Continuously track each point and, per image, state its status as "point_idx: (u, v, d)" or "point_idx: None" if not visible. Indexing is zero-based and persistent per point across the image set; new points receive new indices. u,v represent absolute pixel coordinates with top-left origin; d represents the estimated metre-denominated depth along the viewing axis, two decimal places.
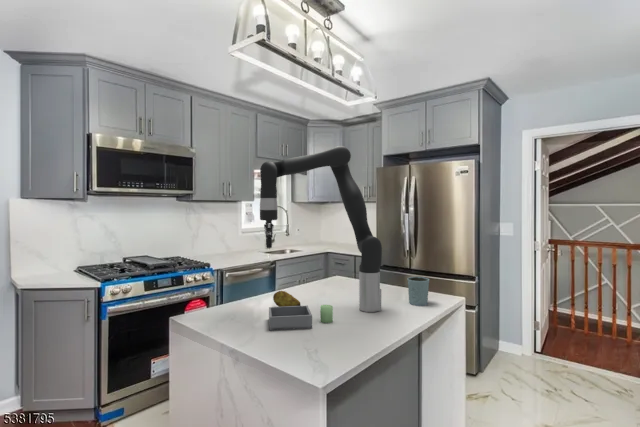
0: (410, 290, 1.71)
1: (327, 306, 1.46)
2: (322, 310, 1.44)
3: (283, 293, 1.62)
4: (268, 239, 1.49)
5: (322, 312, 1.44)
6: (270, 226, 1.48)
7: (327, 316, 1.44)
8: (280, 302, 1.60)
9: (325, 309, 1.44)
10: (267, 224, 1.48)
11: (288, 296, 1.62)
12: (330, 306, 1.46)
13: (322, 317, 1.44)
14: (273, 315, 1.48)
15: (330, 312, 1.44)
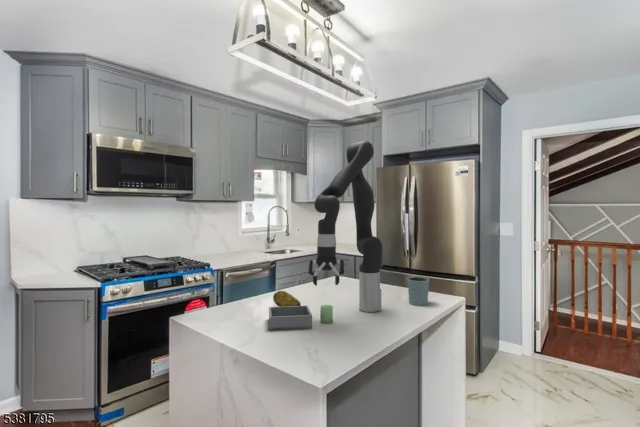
0: (410, 290, 1.71)
1: (327, 306, 1.46)
2: (322, 310, 1.44)
3: (283, 293, 1.62)
4: None
5: (322, 312, 1.44)
6: None
7: (327, 316, 1.44)
8: (280, 302, 1.60)
9: (325, 309, 1.44)
10: None
11: (288, 296, 1.62)
12: (330, 306, 1.46)
13: (322, 317, 1.44)
14: (273, 315, 1.48)
15: (330, 312, 1.44)
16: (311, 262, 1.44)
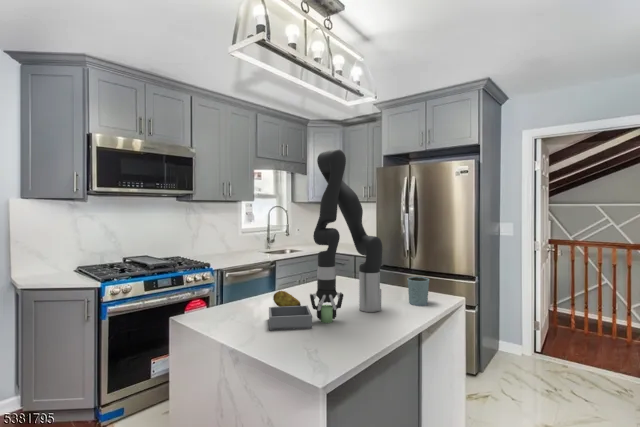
0: (410, 290, 1.71)
1: (327, 306, 1.46)
2: (322, 310, 1.44)
3: (283, 293, 1.62)
4: None
5: (322, 312, 1.44)
6: None
7: (328, 316, 1.44)
8: (280, 302, 1.60)
9: (325, 309, 1.44)
10: None
11: (288, 296, 1.62)
12: (330, 306, 1.46)
13: (322, 317, 1.44)
14: (273, 315, 1.48)
15: (330, 312, 1.44)
16: (312, 297, 1.44)
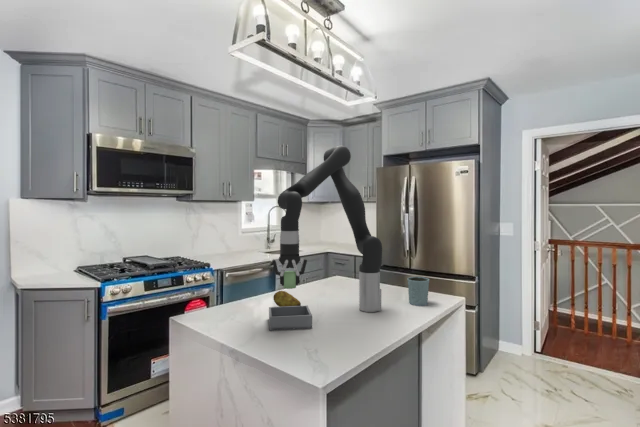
0: (410, 290, 1.71)
1: (290, 272, 1.42)
2: (285, 275, 1.41)
3: (283, 293, 1.62)
4: None
5: (285, 278, 1.41)
6: None
7: (290, 281, 1.40)
8: (280, 302, 1.60)
9: (288, 275, 1.40)
10: (306, 260, 1.43)
11: (288, 296, 1.62)
12: (293, 272, 1.42)
13: (285, 283, 1.41)
14: (273, 315, 1.48)
15: (293, 278, 1.41)
16: (274, 262, 1.40)
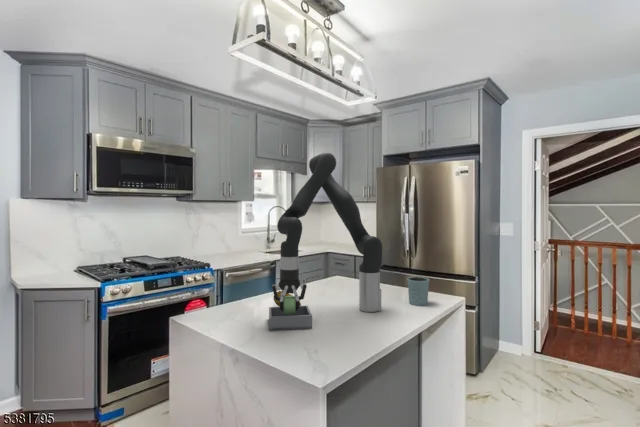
0: (410, 290, 1.71)
1: (290, 297, 1.43)
2: (284, 301, 1.41)
3: None
4: None
5: (284, 303, 1.41)
6: None
7: (290, 307, 1.40)
8: None
9: (288, 300, 1.40)
10: None
11: None
12: (293, 297, 1.43)
13: (284, 308, 1.41)
14: (273, 315, 1.48)
15: (292, 303, 1.41)
16: (274, 288, 1.40)
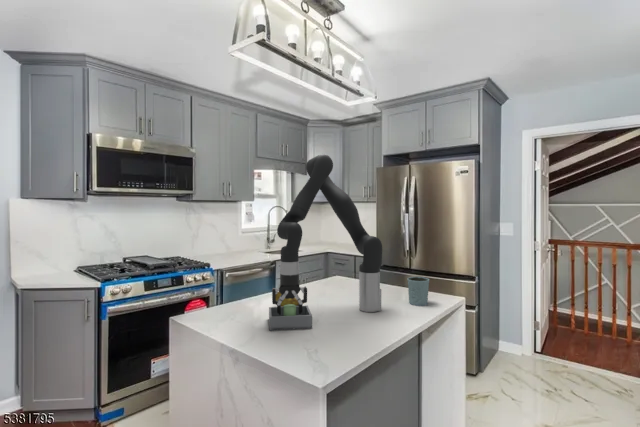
0: (410, 290, 1.71)
1: (290, 306, 1.43)
2: (285, 310, 1.41)
3: None
4: None
5: (285, 312, 1.41)
6: None
7: (290, 315, 1.40)
8: None
9: (288, 309, 1.40)
10: (306, 288, 1.43)
11: None
12: (293, 306, 1.43)
13: None
14: (273, 315, 1.48)
15: (293, 312, 1.41)
16: (274, 291, 1.40)
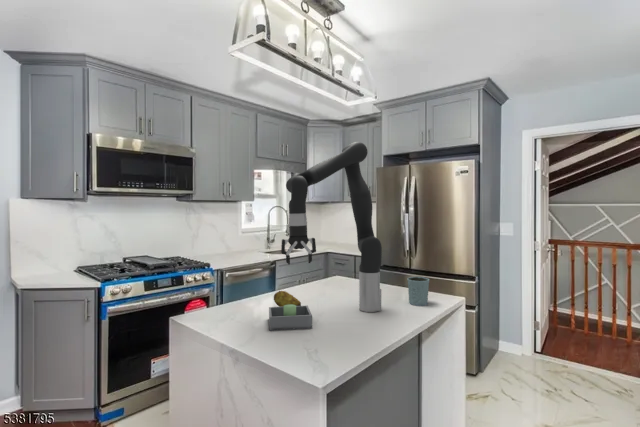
0: (410, 290, 1.71)
1: (290, 306, 1.43)
2: (285, 310, 1.41)
3: (283, 293, 1.62)
4: None
5: (285, 312, 1.41)
6: None
7: (290, 315, 1.40)
8: (280, 302, 1.60)
9: (288, 309, 1.40)
10: (314, 239, 1.50)
11: (288, 296, 1.62)
12: (293, 306, 1.43)
13: None
14: (273, 315, 1.48)
15: (293, 312, 1.41)
16: (283, 242, 1.47)
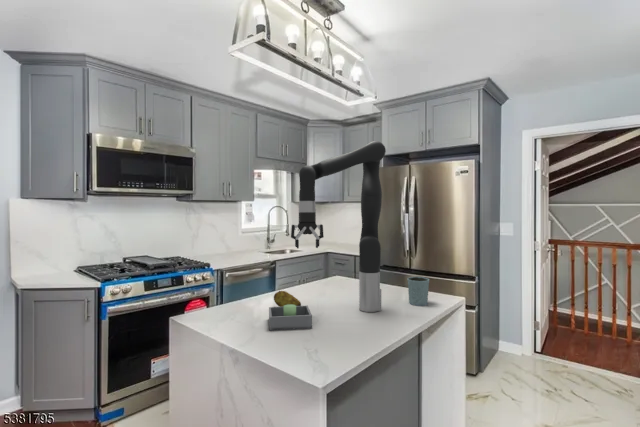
0: (410, 290, 1.71)
1: (290, 306, 1.43)
2: (285, 310, 1.41)
3: (283, 293, 1.62)
4: None
5: (285, 312, 1.41)
6: None
7: (290, 315, 1.40)
8: (280, 302, 1.60)
9: (288, 309, 1.40)
10: (322, 225, 1.60)
11: (288, 296, 1.62)
12: (293, 306, 1.43)
13: None
14: (273, 315, 1.48)
15: (293, 312, 1.41)
16: (293, 227, 1.57)
